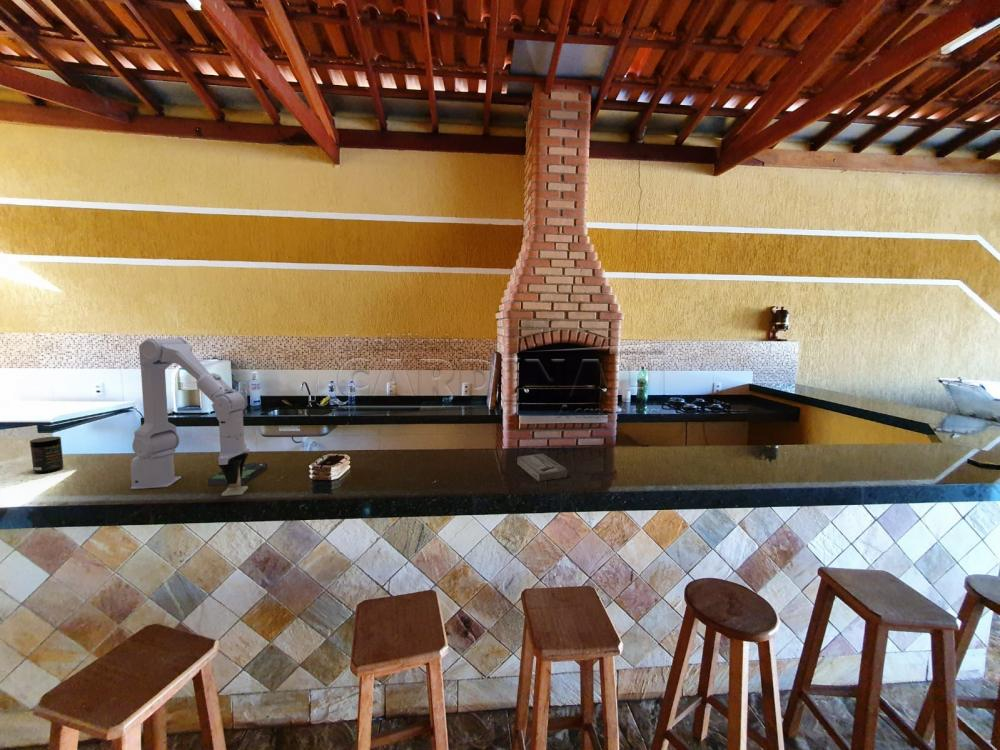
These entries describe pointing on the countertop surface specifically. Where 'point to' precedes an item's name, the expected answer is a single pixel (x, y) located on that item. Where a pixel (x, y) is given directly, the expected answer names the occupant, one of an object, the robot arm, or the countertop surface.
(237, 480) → the dowel
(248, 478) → the disk drive
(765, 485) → the countertop surface
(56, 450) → the supplement container
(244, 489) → the pad
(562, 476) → the box
